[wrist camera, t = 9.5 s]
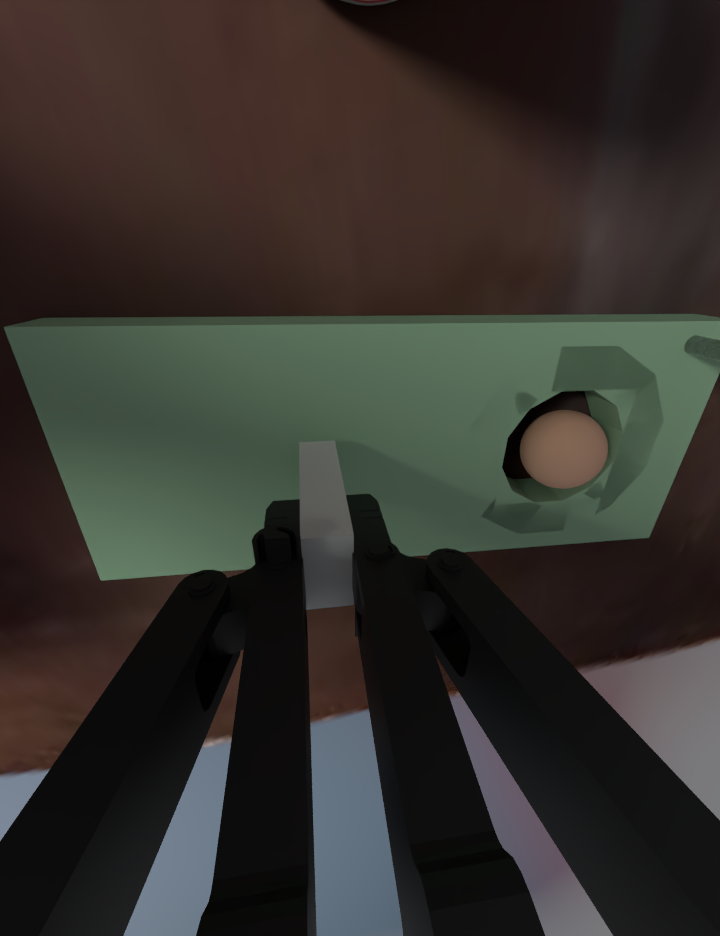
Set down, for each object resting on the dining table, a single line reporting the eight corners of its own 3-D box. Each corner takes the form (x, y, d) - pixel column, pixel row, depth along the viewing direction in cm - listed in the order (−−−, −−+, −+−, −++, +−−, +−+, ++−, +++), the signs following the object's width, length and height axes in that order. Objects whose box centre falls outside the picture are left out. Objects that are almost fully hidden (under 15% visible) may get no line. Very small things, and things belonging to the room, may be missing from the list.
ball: (601, 510, 19) (583, 474, 23) (632, 432, 17) (608, 405, 21) (514, 494, 20) (509, 461, 23) (535, 418, 18) (527, 395, 22)
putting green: (120, 548, 22) (100, 580, 20) (43, 317, 17) (3, 327, 14) (619, 513, 26) (649, 537, 23) (693, 313, 20) (742, 320, 18)
